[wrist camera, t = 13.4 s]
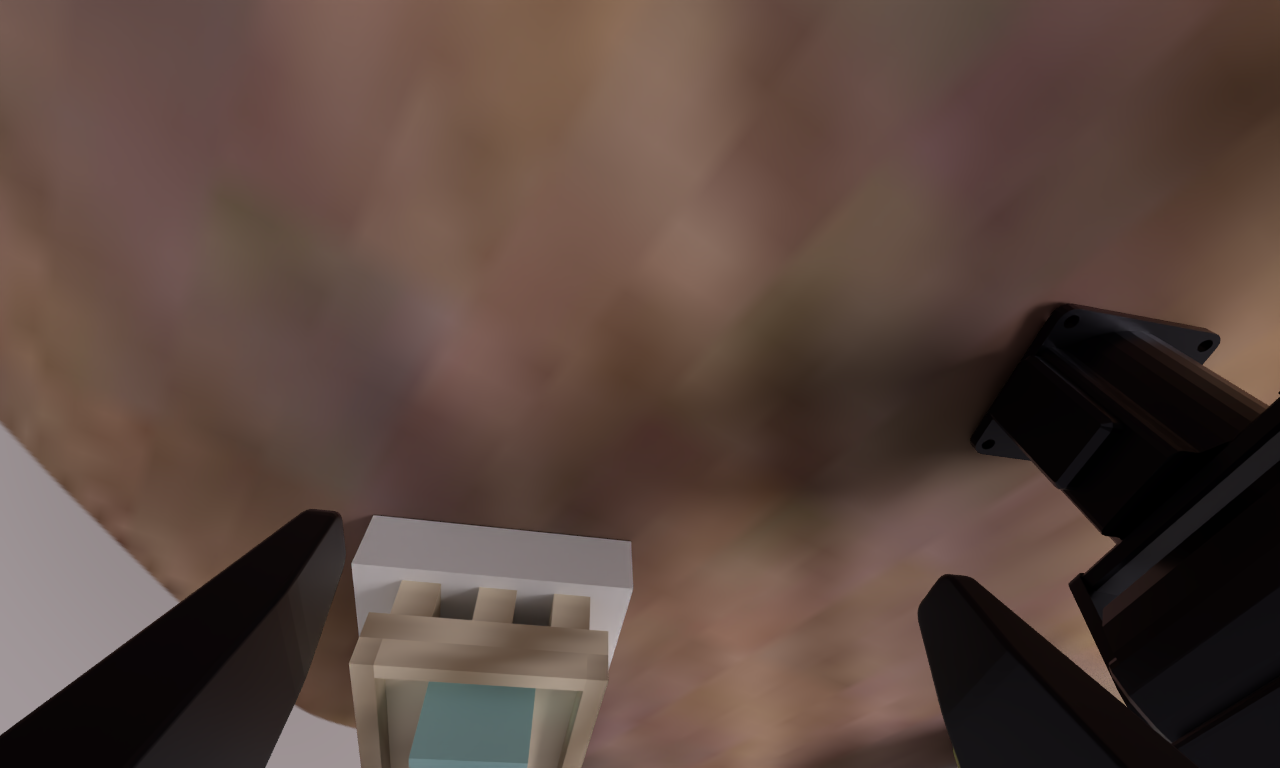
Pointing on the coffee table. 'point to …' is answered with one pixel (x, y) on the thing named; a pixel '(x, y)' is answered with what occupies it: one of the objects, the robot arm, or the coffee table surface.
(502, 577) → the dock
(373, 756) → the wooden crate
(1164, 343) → the robot arm
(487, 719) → the teal block
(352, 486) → the coffee table surface
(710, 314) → the coffee table surface
